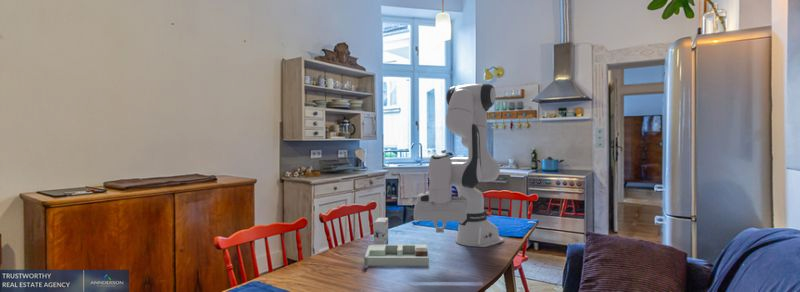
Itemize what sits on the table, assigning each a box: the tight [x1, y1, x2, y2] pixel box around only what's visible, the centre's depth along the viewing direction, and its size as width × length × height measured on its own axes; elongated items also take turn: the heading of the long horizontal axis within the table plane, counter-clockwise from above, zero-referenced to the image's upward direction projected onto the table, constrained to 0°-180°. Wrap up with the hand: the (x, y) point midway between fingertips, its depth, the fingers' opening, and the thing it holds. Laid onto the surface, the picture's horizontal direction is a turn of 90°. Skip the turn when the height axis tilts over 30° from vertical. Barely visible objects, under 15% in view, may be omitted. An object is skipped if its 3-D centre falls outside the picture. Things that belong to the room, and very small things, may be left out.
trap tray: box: [363, 244, 430, 269], centre depth 152 cm, size 24×17×4 cm
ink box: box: [373, 217, 389, 245], centre depth 173 cm, size 9×5×12 cm, turn 168°
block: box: [416, 247, 429, 257], centre depth 149 cm, size 4×4×4 cm
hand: (439, 232), depth 148 cm, fingers closed
